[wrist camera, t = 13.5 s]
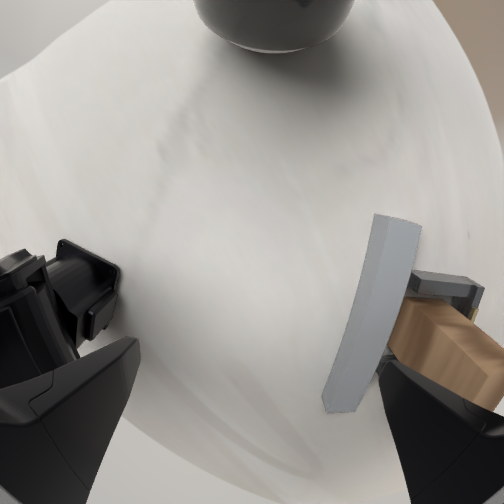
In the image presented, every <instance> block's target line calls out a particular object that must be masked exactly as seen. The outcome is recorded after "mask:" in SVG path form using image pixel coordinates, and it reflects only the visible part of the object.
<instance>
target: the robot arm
mask: <svg viewBox="0 0 504 504" xmlns="http://www.w3.org/2000/svg"><path fill="white" fill-rule="evenodd" d="M62 243H63V245H64V247H63V245H62ZM112 269H113V270H114V271H115V273H113V272H112ZM118 276H119V268H118V267H117V266H116V265H115V264H113V263H110V262H108V261H106V260H104V259H102V258H100V257H98V256H96V255H94V254H92V253H90V252H89V251H87V250H85V249H83V248H81V247H79V246H77V245H75V244H73V243H71V242H69V241H68V240H66V239H62V240H59V241H58V245H57V252H56V257H55V258H53V259H51V260H49V261H47V262H46V260H45V257H44V255H42V256H38V257H36V255H35V256H32V255H31V254H30V253H29V252H28V251H27V250H26V249H22V250H19V251H17V252H14V253H12V254H10V255H8V256H6V257H4V258H2V259H1V260H0V504H86V502H87V499H88V496H89V493H90V492H89V491H90V490H91V488H92V485H93V482H94V480H95V477H96V475H97V472H98V469H99V467H100V465H101V462H102V459H103V457H104V455H105V452H106V450H107V447H108V445H109V442H110V440H111V438H112V435H113V433H114V431H115V428H116V426H117V424H118V421H119V419H120V417H121V415H122V412H123V410H124V408H125V406H126V404H127V401H128V399H129V396H130V393H131V390H132V387H133V384H134V380H135V377H136V374H137V371H138V368H139V365H140V360H141V356H140V346H139V340H138V339H137V338H133V337H129V336H127V337H124V338H122V339H120V340H118V341H116V342H114V343H112V344H110V345H107V346H105V347H103V348H101V349H99V350H97V351H94V352H92V353H90V354H88V355H86V356H84V357H81V358H80V356H79V353H78V351H77V349H78V348H79V346H80V345H81V344H82V343H83V342H84V341H85V340H86V339H87V340H89V341H91V340H93V339H94V338H95V337H96V336H97V335H98V333H99V332H100V331H101V330H105V329H106V328H107V327H108V324H109V321H110V320H111V318H112V317H113V312H114V307H115V303H116V298H117V293H116V291H115V289H116V285H117V280H118ZM379 387H380V391H381V395H382V400H383V405H384V409H385V413H386V417H387V420H388V423H389V426H390V429H391V432H392V436H393V439H394V442H395V445H396V449H397V452H398V455H399V459H400V462H401V466H402V469H403V473H404V477H405V481H406V485H407V488H408V492H409V496H410V500H411V504H504V417H503V416H501V415H499V414H496V413H494V412H492V411H489V410H487V409H485V408H483V407H481V406H479V405H477V404H475V403H473V402H471V401H469V400H467V399H465V398H462V397H461V396H460V395H458V394H456V393H454V392H452V391H451V390H449V389H447V388H445V387H443V386H442V385H440V384H438V383H436V382H434V381H433V380H431V379H429V378H427V377H425V376H424V375H422V374H420V373H418V372H417V371H415V370H413V369H411V368H410V367H408V366H406V365H404V364H403V363H401V362H399V361H397V360H391V361H387V362H386V363H385V366H384V368H383V370H382V372H381V374H380V376H379Z"/></svg>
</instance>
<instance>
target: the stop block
mask: <svg viewBox="0 0 504 504" xmlns="http://www.w3.org/2000/svg"><path fill="white" fill-rule="evenodd" d="M387 345H388V346H389V348H390V349H391V351H392V352H393V353H394V355H395V356H396V357H397V359H398V360H399V362H401V363H403V364H404V365H406V366H408V367H410V368H411V369H413V370H415V371H417V372H418V373H420V374H422V375H424V376H425V377H427V378H429V379H431V380H433V381H434V382H436V383H438V384H440V385H442V386H443V387H445V388H447V389H449V390H451V391H452V392H454V393H456V394H458V395H460V396H461V397H462V398H465V399H467V400H469V401H471V402H473V403H475V404H477V405H479V406H481V407H483V408H485V409H487V410H489V411H492V412H493V411H494V409H495V408H496V407H497V405H498V404H499V402H500V401H501V399H502V398H503V396H504V348H502V347H501V346H500V345H499V344H498V343H497V342H495V341H494V340H493V339H492V338H491V337H490V336H488V335H487V334H486V333H485V332H484V331H482V330H481V329H480V328H479V327H477V326H476V325H475V324H474V323H472V322H471V321H470V320H469V319H467V318H466V317H465V316H464V315H462V314H461V313H460V312H458V311H457V310H456V309H454V308H453V307H452V306H451V305H449V304H448V303H447V302H445V301H444V300H443V299H432V298H417V297H404V299H403V302H402V305H401V308H400V311H399V314H398V317H397V320H396V322H395V325H394V328H393V330H392V333H391V336H390V338H389V341H388V343H387Z"/></svg>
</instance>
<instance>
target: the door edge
mask: <svg viewBox="0 0 504 504" xmlns="http://www.w3.org/2000/svg"><path fill="white" fill-rule="evenodd" d="M421 229H422V226H421V225H418V224H415V223H413V222H410V221H407V220H403V219H398V218H394V217H389V216H385V215H380V214H374V219H373V224H372V229H371V234H370V239H369V244H368V248H367V253H366V257H365V261H364V266H363V270H362V274H361V278H360V281H359V285H358V289H357V293H356V296H355V300H354V303H353V307H352V310H351V314H350V317H349V320H348V323H347V327H346V330H345V333H344V336H343V339H342V342H341V345H340V348H339V351H338V354H337V357H336V359H335V362H334V365H333V368H332V370H331V373H330V376H329V378H328V381H327V384H326V386H325V389H324V391H323V394H322V399H323V402H324V406H325V409H326V412H327V413H342V412H355V411H356V409H357V407H358V405H359V403H360V401H361V399H362V397H363V395H364V393H365V391H366V389H367V387H368V385H369V383H370V381H371V379H372V377H373V375H374V373H375V370H376V368H377V366H378V364H379V361H380V359H381V357H382V354H383V352H384V349H385V347H386V345H387V342H388V340H389V337H390V334H391V332H392V329H393V326H394V324H395V321H396V318H397V315H398V312H399V309H400V307H401V304H402V300H403V297H404V294H405V291H406V288H407V284H408V281H409V278H410V274H411V270H412V267H413V263H414V259H415V255H416V251H417V247H418V243H419V238H420V234H421Z"/></svg>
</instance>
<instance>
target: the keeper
mask: <svg viewBox="0 0 504 504" xmlns="http://www.w3.org/2000/svg"><path fill="white" fill-rule="evenodd" d="M407 286H408V287H410V288H411V289H412V290H413V291H415V292H416V293H417V294H429V295H443V296H453V298H452V301H451V304H450V305H451V306H452V307H453V308H454V309H456V310H457V311H458V312H460V313H461V314H462V315H464V316H465V317H466V318H467V319H469V320H470V321H471V322H472V323H474V320H475V318H476V315H477V312H478V310H479V309H478V306H479V303H480V301H481V298H482V295H483V292H484V289H485V288H484V287H483V286H481V285H479V284H478V283H476V282H474V281H473V280H471V279H469V278H467V277H463V276H455V275H448V274H440V273H433V272H425V271H418V270H411V274H410V278H409V281H408V284H407ZM391 360H397V361H399V360H398V359H397V357H396V356H395V355H386V356H382V357H381V359H380V361H379V364H378V366H377V368H376V372H377V373H378V375H379V376H380V374H381V372H382V370H383V368H384V366H385V363H386V362H387V361H391Z"/></svg>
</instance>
